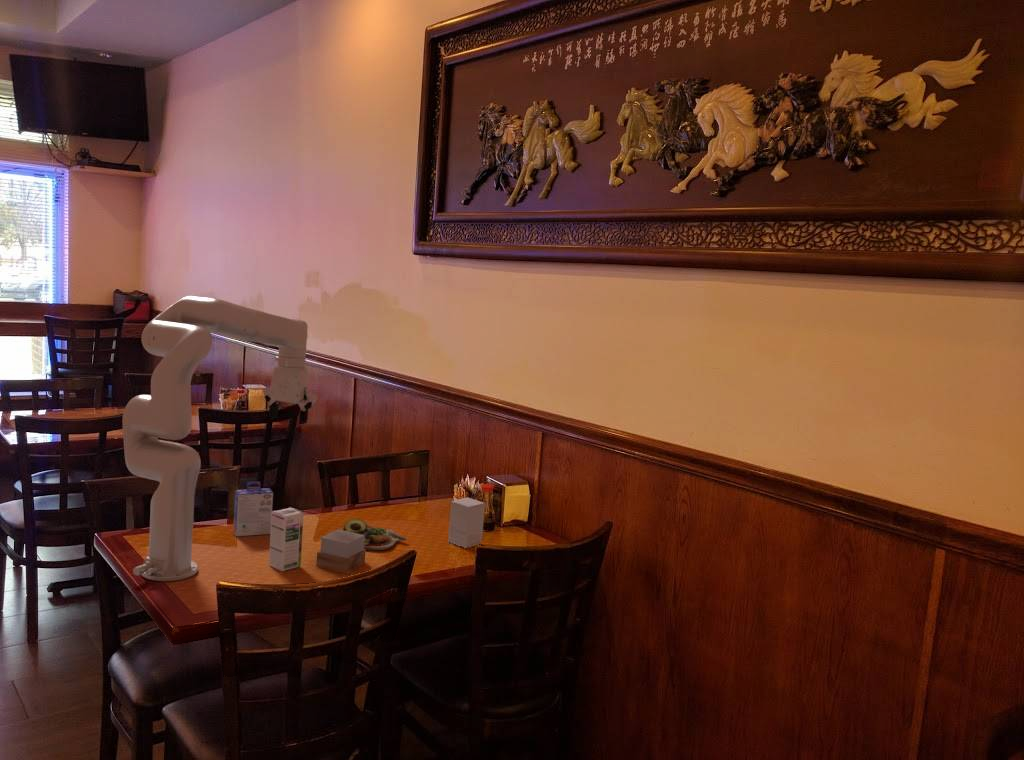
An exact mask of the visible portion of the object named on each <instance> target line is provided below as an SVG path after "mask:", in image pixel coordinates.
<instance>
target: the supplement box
mask: <svg viewBox="0 0 1024 760" xmlns="http://www.w3.org/2000/svg"><path fill="white" fill-rule="evenodd" d="M485 508H486V502H483V501H480V500H477V499H475V498H471V497H463V498H459V499H454V500H451V502H450V512H449V513H450V514H449V525H448V539H447V543H449V542H451V543H450V544H452V543H453V544H452V545H454V544H456V545H455V546H457V545H458V546H457V547H460V546H462V547H464V548H463V549H465V548H467V547H470V548H472V547H471V546H473V545H475V544H476V545H477V546H480V545H479V544H478V543H481V542H483V532H484V521H485V520H484V519H485ZM476 545H475V546H474V547H476ZM462 547H461V548H462ZM467 549H468V548H467Z"/></svg>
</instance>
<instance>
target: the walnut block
mask: <svg viewBox="0 0 1024 760" xmlns="http://www.w3.org/2000/svg"><path fill="white" fill-rule="evenodd" d="M320 551H321V550H319V551H317V553H316V563H315V564H316V565H315V566H316V567H318V568H319V567H320V568H324V569H327V570H332V571H336V572H340V573H344V574H348V573H350V572H351V571H353V570H354V569H356V568H357V567H360V566H361V565H363V564H364V563H366V561H365V559H366V551H367V550H366V549H364V550H363V551H361V552H359V553H357V554H355V555H353V556H352V557H350V558H348V559H346V558H342V557H337V556H333V555H329V554H325V553H321V552H320Z"/></svg>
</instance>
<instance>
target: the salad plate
mask: <svg viewBox="0 0 1024 760" xmlns="http://www.w3.org/2000/svg"><path fill="white" fill-rule="evenodd" d="M342 530H344V531H348V532H353V533H357V534H361V535H365V539H364V549H366V551H384V549H385V550H388V548H389V549H390V547H391V548H392V547H393V546H394V545H395V544H396V543H397V542H400V541H407V538H406V537H404V536H401V535H398V534H397V532H395V531H393V530H392V529H387V528H382V527H380V526H378V527H372V526H370V525H367V523H366V522H365V521H364V520H363V519H360V518H359V519H358V518H353V519H350V520H348V521H347V522H345V524H344V525H343V529H342ZM373 543H374V544H373ZM375 543H376V544H375ZM381 544H383V546H382V545H381ZM369 545H377V546H369ZM378 545H380V546H378Z"/></svg>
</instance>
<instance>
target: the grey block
mask: <svg viewBox="0 0 1024 760" xmlns="http://www.w3.org/2000/svg"><path fill="white" fill-rule="evenodd" d="M364 539H365V535H361V534H357V533H353V532H348V531H344V530H343V529H340V528H339V529H337V530H334V531H332V532H330V533H328V534H326V535H324V536H321V537H320V550H319V551H320V552H321V553H325V554H329V555H333V556H337V557H342V558H346V559H348V558H350V557H352V556H353V555H355V554H357V553H359V552H361V551H363V550H364Z"/></svg>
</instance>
